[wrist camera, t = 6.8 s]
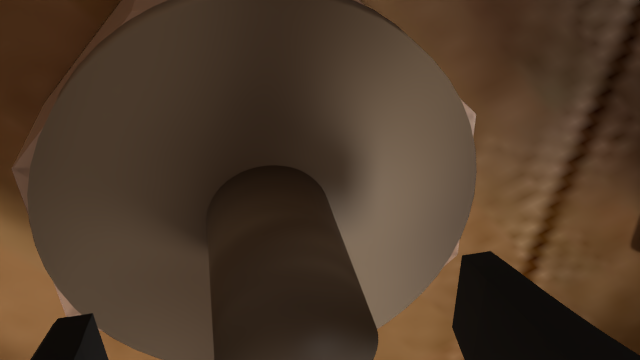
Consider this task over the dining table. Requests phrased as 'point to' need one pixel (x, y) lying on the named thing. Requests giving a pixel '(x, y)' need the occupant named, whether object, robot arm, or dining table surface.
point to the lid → (251, 180)
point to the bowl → (129, 7)
